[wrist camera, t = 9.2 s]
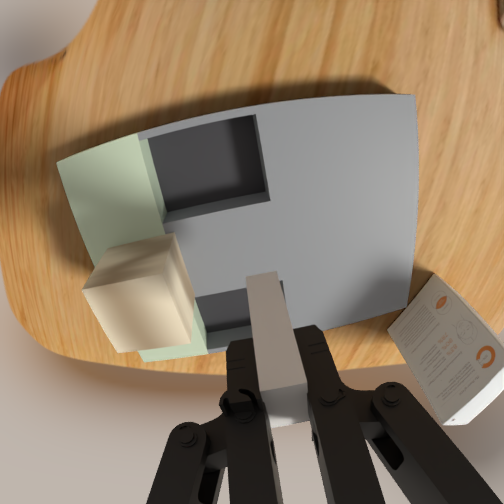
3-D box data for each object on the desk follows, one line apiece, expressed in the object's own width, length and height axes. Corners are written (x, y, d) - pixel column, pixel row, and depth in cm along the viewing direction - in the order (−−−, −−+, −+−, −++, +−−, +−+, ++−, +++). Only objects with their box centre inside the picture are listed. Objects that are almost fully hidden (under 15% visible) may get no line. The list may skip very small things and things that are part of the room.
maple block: (174, 232, 19) (162, 273, 15) (194, 294, 22) (191, 343, 17) (107, 248, 19) (81, 289, 15) (132, 305, 21) (117, 352, 17)
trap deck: (396, 93, 18) (415, 94, 16) (394, 291, 27) (406, 307, 25) (72, 154, 18) (56, 162, 16) (148, 342, 27) (144, 362, 24)
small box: (415, 342, 31) (465, 426, 20) (384, 329, 29) (440, 427, 18) (459, 291, 28) (525, 368, 17) (434, 270, 26) (512, 358, 15)
